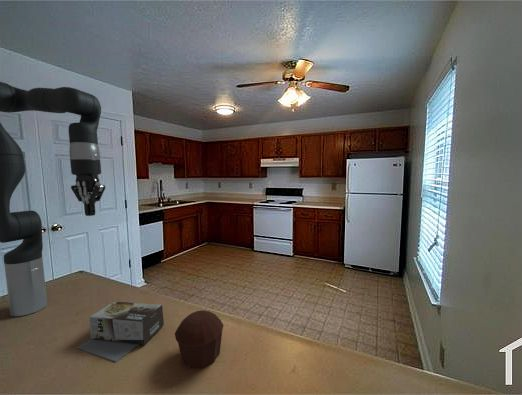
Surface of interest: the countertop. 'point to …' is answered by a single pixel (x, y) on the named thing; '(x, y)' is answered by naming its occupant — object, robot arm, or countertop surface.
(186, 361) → the muffin
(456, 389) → the countertop surface
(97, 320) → the coffee box
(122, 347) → the mat
